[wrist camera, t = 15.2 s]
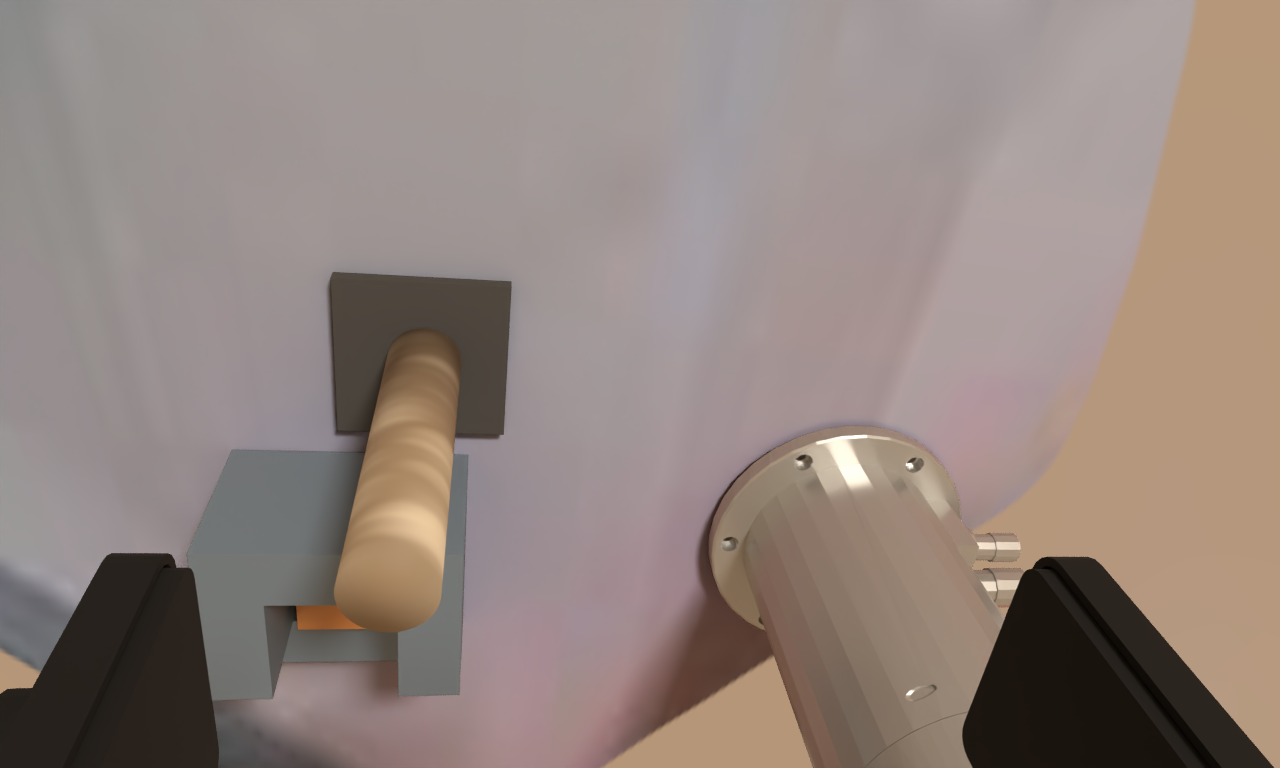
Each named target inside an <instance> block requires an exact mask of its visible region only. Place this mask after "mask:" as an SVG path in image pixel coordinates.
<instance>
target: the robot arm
mask: <svg viewBox="0 0 1280 768" xmlns="http://www.w3.org/2000/svg"><path fill="white" fill-rule="evenodd" d="M1020 550H1021V549H1020V542H1019V540H1018V538H1017V536H1016V535H1015V534H1013V533H988V534H974V533H973V532H972V531H971V530H970V529H967V528H966V527H965V526H964V524H963V523H962V521H961V509H960V500H959V497H958V493H957V490H956V487H955V484H954V482H953V481H952V479H951V478H950V476H949V475H948V473H947V471H946V470H945V468H944V467H943V466H942V464H941V463H940V462H939V461H938V460H937V458H936V457H935V456H934V455H933V454H932V452H931V451H929V450H928V449H926V448H925V447H924V446H922V445H921V444H920V443H918V442H917V441H916V440H914V439H912V438H909V437H907V436H905V435H902V434H900V433H898V432H895V431H891V430H887V429H882V428H877V427H871V426H844V427H837V428H829V429H823V430H820V431H816V432H813V433H810V434H806V435H803V436H800V437H797V438H795V439H793V440H791V441H789V442H787V443H785V444H783V445H781V446H779V447H777V448H775V449H773V450H772V451H770V452H769V453H768V454H766V455H765V456H763V457H762V458H760V459H759V460H757V461H756V462H754V463H753V464H752V465H751V466H750V467H749V468H748V469H747V470H746V471H745V472H744V473H743V474H742V475H741V476H740V477H739V478H738V479H737V480H736V481H735V483H734V484H733V485H732V487H731V488H730V489H729V491H728V492H727V493H726V495H725V496H724V497H723V499H722V501H721V503H720V505H719V508H718V510H717V512H716V514H715V516H714V518H713V522H712V527H711V531H710V535H709V560H710V564H711V568H712V572H713V576H714V579H715V581H716V584H717V587H718V589H719V592H720V594H721V595H722V597H723V598H724V600H725V601H726V602H727V604H728V605H729V607H730V608H731V609H732V610H733V611H734V612H736V613H737V614H738V615H739V616H740V617H741V618H742V619H743V620H745V621H746V622H748V623H750V624H752V625H753V626H755V627H757V628H759V629H761V630H764V631H766V634H767V637H768V639H769V642H770V645H771V648H772V651H773V654H774V657H775V660H776V662H777V665H778V668H779V671H780V674H781V677H782V679H783V682H784V685H785V688H786V691H787V694H788V697H789V700H790V703H791V705H792V708H793V711H794V714H795V717H796V720H797V723H798V726H799V729H800V731H801V734H802V737H803V740H804V743H805V746H806V749H807V751H808V754H809V757H810V760H811V763H812V766H813V768H1274V767H1273V766H1272V765H1271V764H1270V763H1269V761H1268V760H1267V759H1266V758H1265V757H1264V755H1263V754H1262V753H1261V752H1260V751H1259V749H1258V748H1257V747H1256V746H1255V745H1254V744H1253V742H1252V741H1251V740H1250V739H1249V738H1248V737H1247V735H1246V734H1245V733H1244V732H1243V731H1242V730H1241V728H1240V727H1239V726H1238V725H1237V724H1236V722H1235V721H1234V720H1233V719H1232V718H1231V717H1230V715H1229V714H1228V713H1227V712H1226V711H1225V710H1224V708H1223V707H1222V706H1221V705H1220V704H1219V702H1218V701H1217V700H1216V699H1215V698H1214V697H1213V695H1212V694H1211V693H1210V692H1209V691H1208V690H1207V688H1206V687H1205V686H1204V685H1203V684H1202V683H1201V681H1200V680H1199V679H1198V678H1197V677H1196V676H1195V674H1194V673H1193V672H1192V671H1191V670H1190V668H1189V667H1188V666H1187V665H1186V664H1185V663H1184V661H1183V660H1182V659H1181V658H1180V657H1179V655H1178V654H1177V653H1176V652H1175V651H1174V650H1173V648H1172V647H1171V646H1170V645H1169V644H1168V643H1167V641H1166V640H1165V639H1164V638H1163V637H1162V636H1161V634H1160V633H1159V632H1158V631H1157V630H1156V628H1155V627H1154V626H1153V625H1152V624H1151V623H1150V621H1149V620H1148V619H1147V618H1146V617H1145V616H1144V614H1143V613H1142V612H1141V611H1140V610H1139V609H1138V607H1137V606H1136V605H1135V604H1134V603H1133V601H1131V599H1130V598H1129V597H1128V596H1127V594H1126V593H1125V592H1124V591H1123V590H1122V589H1121V588H1120V586H1119V585H1118V584H1117V583H1116V582H1115V581H1114V579H1113V578H1112V577H1111V576H1110V574H1109V573H1108V572H1107V571H1106V570H1105V569H1104V567H1103V566H1102V565H1101V564H1100V563H1098V562H1097V561H1096V560H1095V559H1092V558H1089V557H1044V558H1041V559H1040V560H1038V561H1037V562H1036V563H1035V565H1034V567H1033V568H1032V569H1029V570H1027V571H1025V572H1024V571H1023V570H1022V569H1021V568H984V569H983V570H973V569H972V566H973V564H974V562H975V560H988V561H989V562H1013V561H1017V559H1018V558H1019V555H1020ZM998 607H1009V609H1008V612H1007V614H1006V617H1004V615H1003V614H1002V612H1001V611H1000V609H999V608H998ZM218 759H219V747H218V739H217V731H216V724H215V717H214V710H213V703H212V696H211V689H210V682H209V675H208V668H207V661H206V654H205V647H204V640H203V633H202V626H201V619H200V612H199V605H198V597H197V590H196V583H195V577H194V573H193V571H192V569H191V568H176V564H175V560H174V558H173V557H172V555H170V554H158V553H111V554H109V555H107V556H106V557H105V559H104V560H103V561H102V563H101V564H100V566H99V568H98V570H97V572H96V574H95V575H94V577H93V579H92V581H91V583H90V584H89V586H88V588H87V590H86V592H85V593H84V595H83V597H82V599H81V601H80V602H79V604H78V606H77V608H76V610H75V612H74V613H73V615H72V617H71V619H70V621H69V622H68V624H67V626H66V628H65V630H64V631H63V633H62V635H61V637H60V639H59V641H58V642H57V644H56V646H55V648H54V650H53V651H52V653H51V655H50V657H49V659H48V660H47V662H46V664H45V666H44V668H43V669H42V671H41V673H40V675H39V677H38V679H37V680H36V682H35V684H34V686H33V688H16V689H7V690H5V691H4V692H3V693H1V694H0V768H218Z"/></svg>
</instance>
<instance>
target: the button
mask: <svg viewBox="0 0 1280 768" xmlns="http://www.w3.org/2000/svg"><path fill="white" fill-rule="evenodd" d="M296 610H297V623H298V630H309V629H365V628H362V627H360V626H358V625H356V624H355V623H353V622H351V621H350V620H349V619H347V618H346V617H345V616H344V615H343V614H342V612H341V611H340V610H339V608H338V606H337V605H313V606H296Z"/></svg>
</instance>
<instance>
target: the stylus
mask: <svg viewBox="0 0 1280 768" xmlns="http://www.w3.org/2000/svg"><path fill="white" fill-rule="evenodd" d="M460 373H461V355H460V352H459V349H458V347H457V346H456V344H455V343H454V342H453V341H452V339H450V338H449V337H448V336H446V335H445V334H443V333H441V332H439V331H436V330H433V329H427V328H418V329H413V330H409V331H407V332H405V333H403V334H401V335H400V336H398V337H397V338H396V339H395V340H394V341H393V343H392V344H391V346H390V348H389V351H388V355H387V360H386V364H385V368H384V373H383V377H382V381H381V386H380V390H379V394H378V399H377V403H376V408H375V412H374V416H373V421H372V425H371V429H370V434H369V438H368V443H367V447H366V451H365V456H364V460H363V464H362V469H361V473H360V478H359V482H358V486H357V491H356V495H355V499H354V504H353V508H352V512H351V517H350V521H349V526H348V530H347V534H346V539H345V543H344V547H343V552H342V556H341V561H340V565H339V569H338V574H337V578H336V582H335V587H334V598H335V601H336V604H337V606H338V608H339V610H340V611H341V612H342V614H343V615H344V616H345V617H346V618H347V619H349V620H350V621H351V622H353V623H355V624H356V625H358V626H360V627H362V628H365V629H368V630H372V631H377V632H400V631H405V630H409V629H412V628H415V627H417V626H419V625H421V624H422V623H424V622H426V621H427V620H428V619H429V618H430V617H431V616H432V615H433V614H434V613H435V612H436V610H437V608H438V606H439V604H440V601H441V593H442V582H443V570H444V559H445V547H446V535H447V524H448V512H449V501H450V489H451V477H452V466H453V454H454V443H455V431H456V419H457V408H458V396H459V385H460Z"/></svg>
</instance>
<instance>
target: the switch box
mask: <svg viewBox="0 0 1280 768" xmlns="http://www.w3.org/2000/svg"><path fill="white" fill-rule="evenodd" d="M364 456H365V453H355V452H309V451H262V450H232V452H231V454H230V456H229V458H228V461H227V463H226V465H225V468H224V470H223V472H222V474H221V477H220V479H219V481H218V484H217V486H216V488H215V490H214V493H213V495H212V497H211V500H210V502H209V504H208V506H207V509H206V511H205V513H204V516H203V518H202V520H201V522H200V525H199V527H198V529H197V531H196V534H195V536H194V538H193V541H192V543H191V545H190V547H189V550H188V552H187V561H188V568H191V569H192V571H193V573H194V577H195V583H196V590H197V597H198V605H199V612H200V619H201V626H202V633H203V640H204V647H205V654H206V661H207V668H208V675H209V682H210V689H211V696H212V700H247V699H273V696H274V692H275V688H276V684H277V681H278V677H279V673H280V669H281V665H282V662H349V661H398V696H435V695H459V692H460V668H461V652H462V627H463V598H464V567H465V536H466V506H467V475H468V455H453V466H452V477H451V489H450V501H449V512H448V524H447V535H446V547H445V559H444V570H443V582H442V593H441V601H440V604H439V606H438V608H437V610H436V612H435V613H434V614H433V615H432V616H431V617H430V618H429V619H428V620H427V621H426V622H424V623H422V624H421V625H419V626H417V627H415V628H412V629H409V630H405V631H400V632H377V631H372V630H368V629H309V630H298V623H297V610H296V606H313V605H337V604H336V601H335V598H334V587H335V582H336V578H337V574H338V569H339V565H340V561H341V556H342V552H343V547H344V543H345V539H346V534H347V530H348V526H349V521H350V517H351V512H352V508H353V504H354V499H355V495H356V491H357V486H358V482H359V478H360V473H361V469H362V464H363V460H364Z"/></svg>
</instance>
